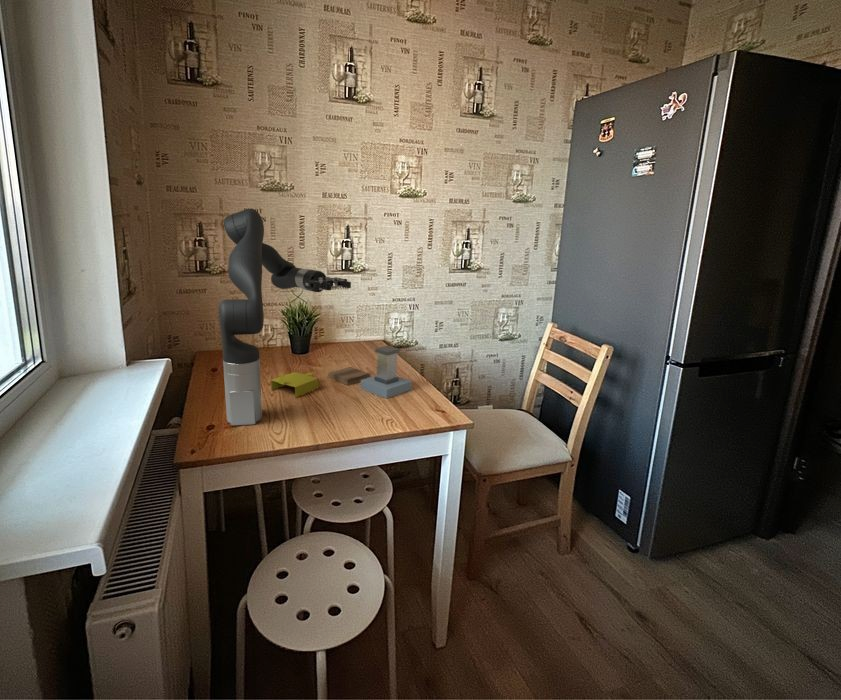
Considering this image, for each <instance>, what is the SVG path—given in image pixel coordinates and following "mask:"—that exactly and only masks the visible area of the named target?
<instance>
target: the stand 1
mask: <svg viewBox="0 0 841 700" xmlns="http://www.w3.org/2000/svg"><path fill="white" fill-rule="evenodd" d="M370 374H371V373H369V372H367V371H364V370H362V369H358V368H355V367H353V366H349V367H345V368H342V369H341V368H340V369H337V370H334V371H329V372H328V379H330V378H331V379H330V380H333V379H334V380H333V381H335V380H336V381H335V382H338V381H339V382H338V383H340V382H342V383H341V384H343V383H344V384H343V385H345V384H346V386H350V384H351V385H354V384H358V383H361V380H363V379H366V378H370V377H371V375H370ZM357 382H358V383H357Z"/></svg>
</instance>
